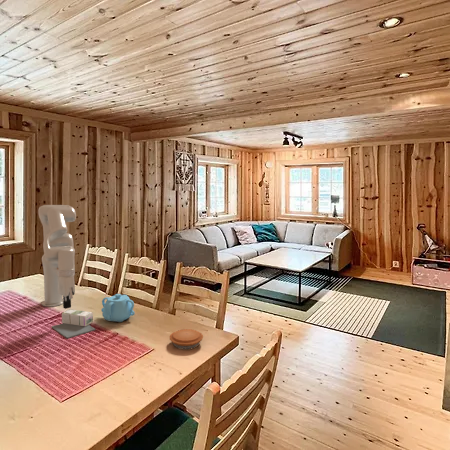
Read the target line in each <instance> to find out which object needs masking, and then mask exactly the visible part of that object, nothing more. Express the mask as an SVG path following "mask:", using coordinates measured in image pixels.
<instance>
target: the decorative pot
mask: <svg viewBox="0 0 450 450" xmlns="http://www.w3.org/2000/svg"><path fill="white" fill-rule="evenodd" d="M105 300H106V301H105ZM101 304H102V308H101V309H100V310H101V312H102V317H103V318H104V320H106V321H108V322H118V323H122V322H123V321H126V320H127V319H130V317H132V316H134V315H136V314H135V311H134V307H135V303H134V301H133V300H132V299H130V297H129V296H128V295H127V294H121V293H116V294H114V295H112V296H109V297H107V296H106V297H104V298H103V299H102V300H101Z"/></svg>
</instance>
